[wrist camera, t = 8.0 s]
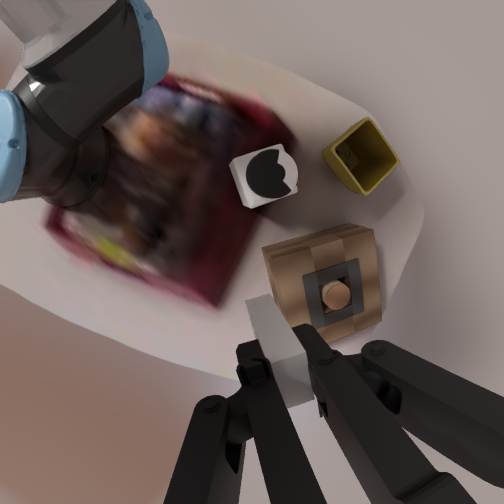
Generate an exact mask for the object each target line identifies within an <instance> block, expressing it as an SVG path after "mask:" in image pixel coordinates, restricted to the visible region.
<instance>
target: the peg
mask: <svg viewBox="0 0 504 504" xmlns="http://www.w3.org/2000/svg"><path fill="white" fill-rule="evenodd" d="M318 286H319V291H320V297H321V300H322V301H323V302H324V303H325V304H326V305H327V306H328V307H329V308H331V309H333V310H339V309H341V308H343V307H345V306H346V305H347V303H348V302H349V300H350V290H349V288H348V287H347V286H346V285H344V284H343V283H341V282H340V281H339V280H337V279H336V280H333V281H330V282H327V283H324V284H321V285H318Z"/></svg>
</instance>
